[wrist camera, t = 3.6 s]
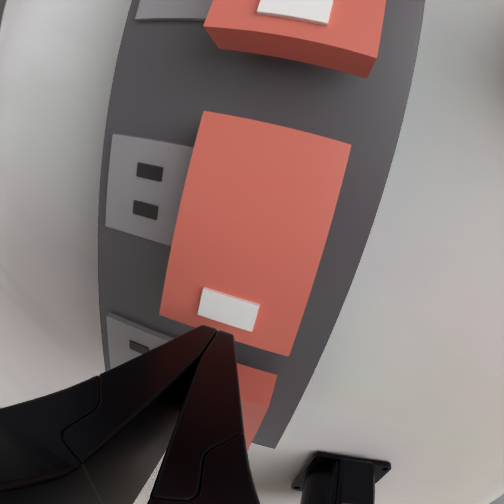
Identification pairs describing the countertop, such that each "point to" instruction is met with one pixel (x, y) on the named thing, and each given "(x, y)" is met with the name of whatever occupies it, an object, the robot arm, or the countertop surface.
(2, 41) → the countertop surface
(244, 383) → the red rectangular block
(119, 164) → the power strip
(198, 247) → the plate
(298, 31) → the rocker
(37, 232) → the countertop surface
